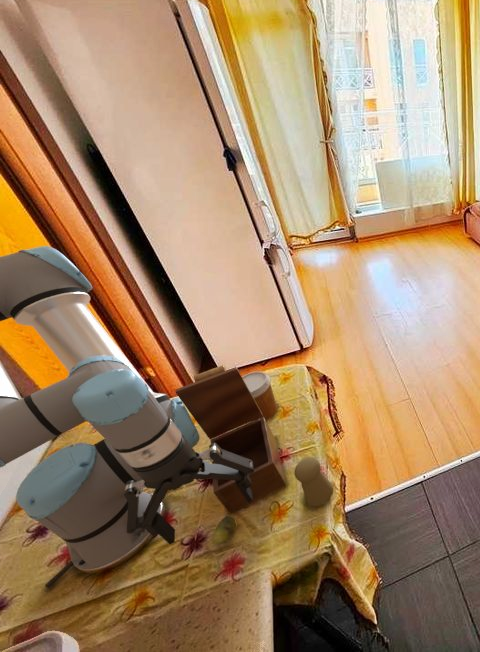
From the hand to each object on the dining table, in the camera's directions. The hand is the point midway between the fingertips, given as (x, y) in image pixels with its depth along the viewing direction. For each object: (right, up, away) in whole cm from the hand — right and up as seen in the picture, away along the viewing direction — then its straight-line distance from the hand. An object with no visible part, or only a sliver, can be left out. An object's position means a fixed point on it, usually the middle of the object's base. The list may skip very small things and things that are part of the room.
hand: (213, 516), depth 72 cm
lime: (0, -7, +5) cm, 8 cm away
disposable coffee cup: (-8, +11, +33) cm, 35 cm away
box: (-1, +1, +16) cm, 16 cm away
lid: (-6, +19, +12) cm, 23 cm away
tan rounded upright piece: (+17, -1, +11) cm, 20 cm away
